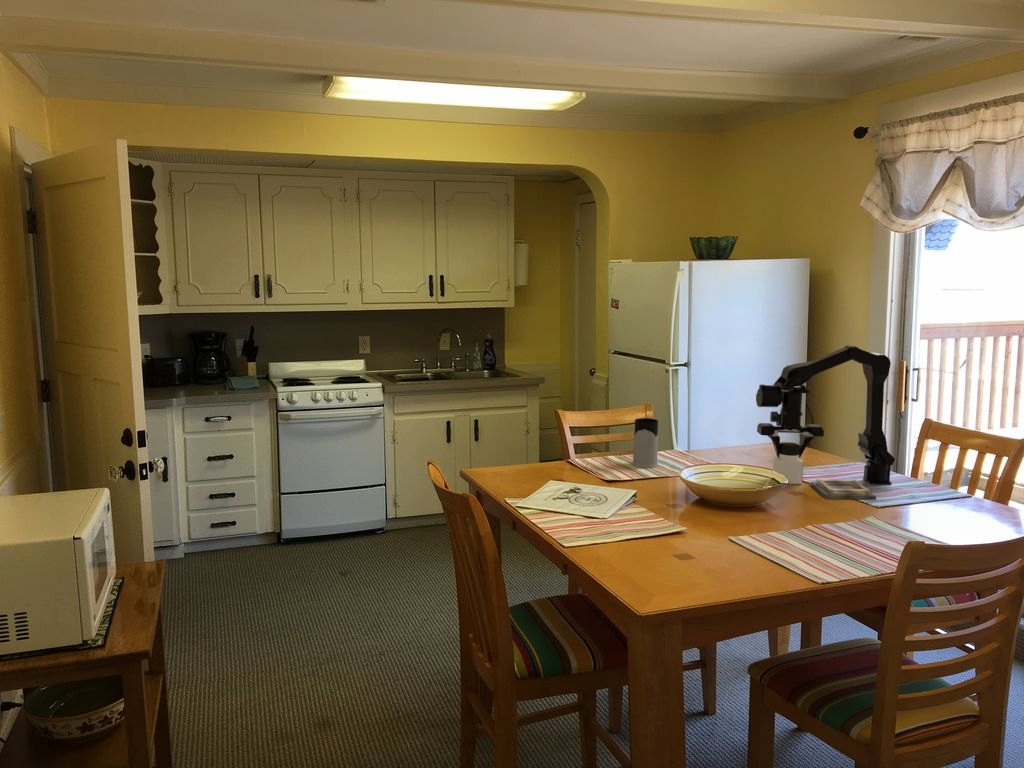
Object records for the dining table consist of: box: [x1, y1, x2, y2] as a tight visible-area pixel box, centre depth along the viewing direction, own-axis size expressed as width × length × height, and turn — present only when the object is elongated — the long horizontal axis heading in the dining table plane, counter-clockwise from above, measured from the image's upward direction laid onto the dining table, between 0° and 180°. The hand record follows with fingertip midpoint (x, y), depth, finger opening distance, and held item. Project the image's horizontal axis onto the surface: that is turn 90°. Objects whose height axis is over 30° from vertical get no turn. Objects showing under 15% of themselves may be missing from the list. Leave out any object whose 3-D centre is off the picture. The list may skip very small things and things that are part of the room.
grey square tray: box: [810, 478, 877, 500], centre depth 242 cm, size 14×14×2 cm
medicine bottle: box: [772, 441, 804, 485], centre depth 252 cm, size 7×7×12 cm
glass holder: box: [631, 417, 659, 469], centre depth 273 cm, size 9×14×15 cm, turn 163°
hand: (788, 457), depth 252 cm, fingers closed on medicine bottle, 6 cm apart
